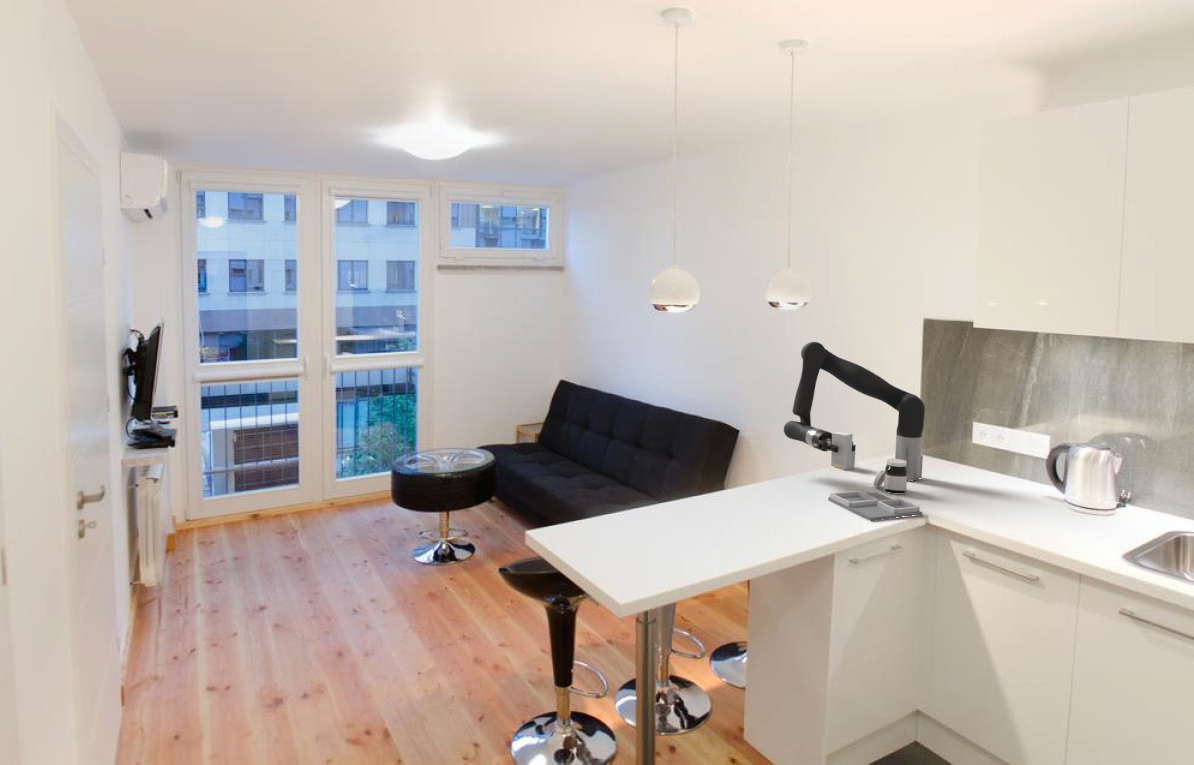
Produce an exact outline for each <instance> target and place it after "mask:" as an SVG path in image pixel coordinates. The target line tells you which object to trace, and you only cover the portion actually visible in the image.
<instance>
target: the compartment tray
mask: <svg viewBox="0 0 1194 765" xmlns="http://www.w3.org/2000/svg"><path fill="white" fill-rule="evenodd" d="M827 500H828V501H830V502H831V503H834V504H835V505H837V506H839V507H840V508H843V509H846V510H847V511H849V512H851V513H853V514H855V515H857V516H859V517H861V518H862V519H865V518H866V519H865V520H867V519H868V520H867V521H869V520H870V521H869V522H876V521H875V520H878V521H882V520H881V519H887V520H890V519H889V518H896V517H902V516H912V515H922V516H923V512H922V511H920V507H921V506H919V505H917V504H914V503H913V502H909V501H907V500H905V499H903V498H891V497H888V496H886V495H884V494H881V493H879V492H875V491H874V492H867V493H865V492H863V491H861V490H851V491H850V490H849V491H840V492H832V493H829V496H828V499H827Z"/></svg>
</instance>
